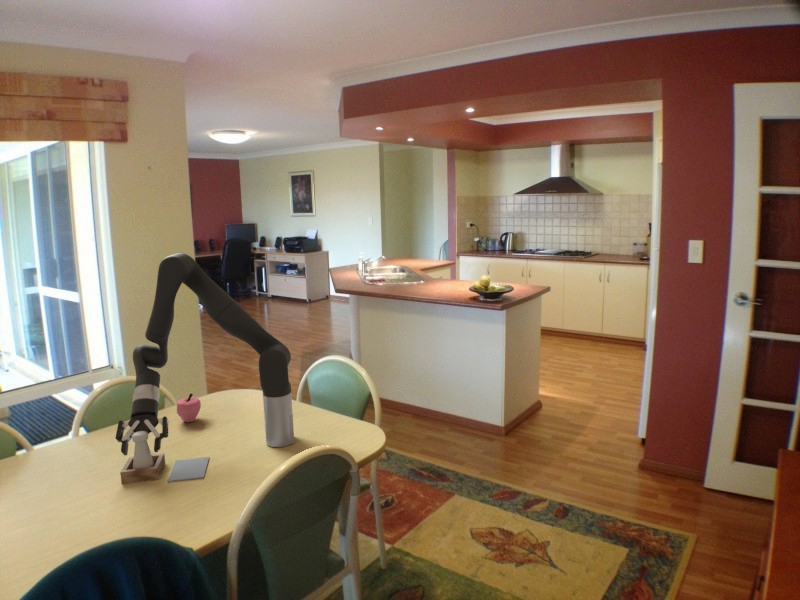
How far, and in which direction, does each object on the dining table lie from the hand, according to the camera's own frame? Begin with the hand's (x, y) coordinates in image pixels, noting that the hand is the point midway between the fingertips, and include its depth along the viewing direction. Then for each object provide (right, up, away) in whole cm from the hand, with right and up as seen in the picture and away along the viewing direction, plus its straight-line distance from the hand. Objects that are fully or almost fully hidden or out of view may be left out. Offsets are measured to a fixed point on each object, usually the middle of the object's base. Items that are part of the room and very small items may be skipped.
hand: (140, 452), depth 161 cm
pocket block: (0, -7, +3) cm, 7 cm away
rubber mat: (+13, -6, +4) cm, 15 cm away
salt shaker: (0, -7, +3) cm, 8 cm away
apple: (-1, 0, +42) cm, 42 cm away
